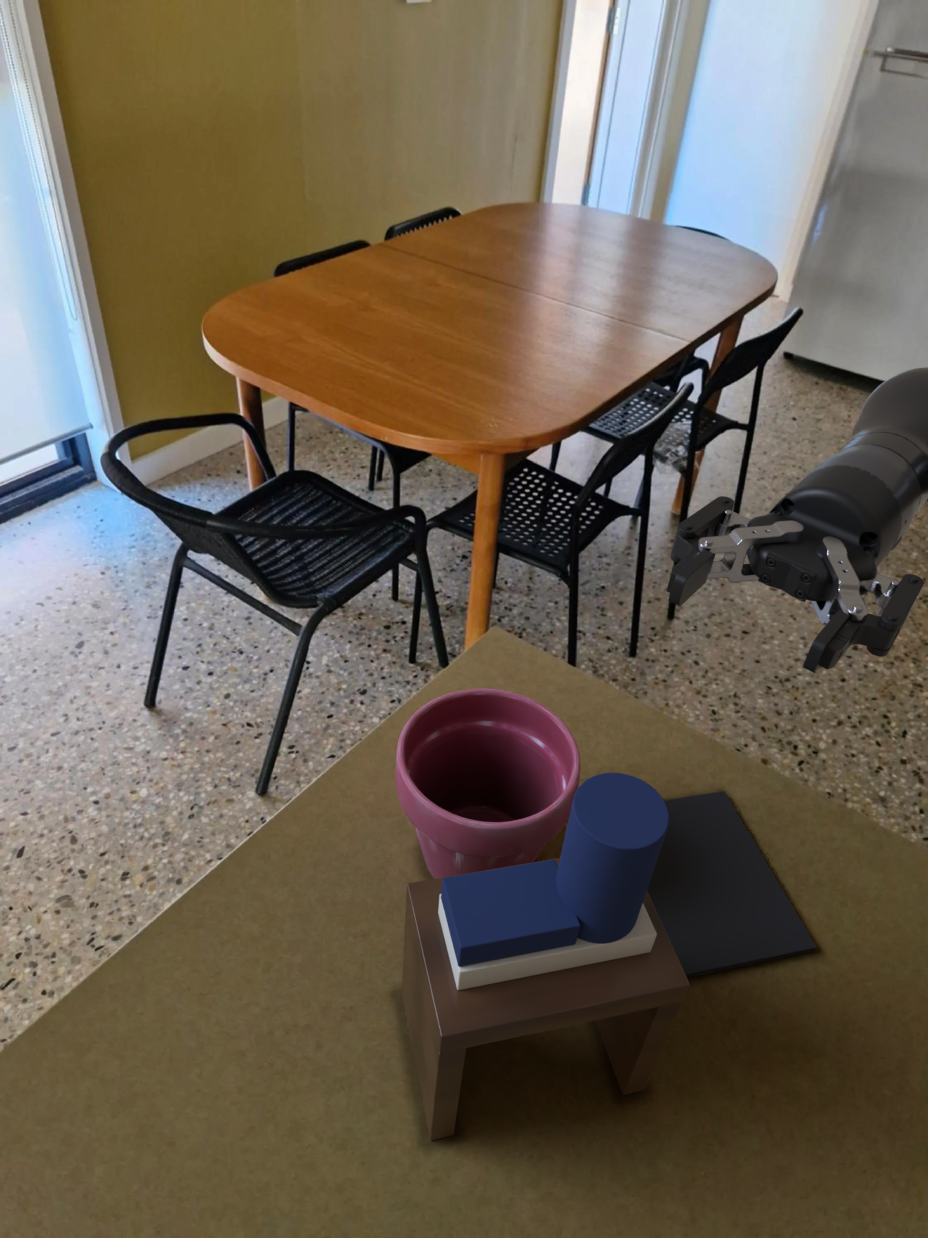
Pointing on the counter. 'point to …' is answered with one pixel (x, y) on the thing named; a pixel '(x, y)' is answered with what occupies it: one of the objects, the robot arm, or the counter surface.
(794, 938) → the shoe mat
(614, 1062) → the shoe bench
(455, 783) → the flower pot
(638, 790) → the boot
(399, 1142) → the counter surface
